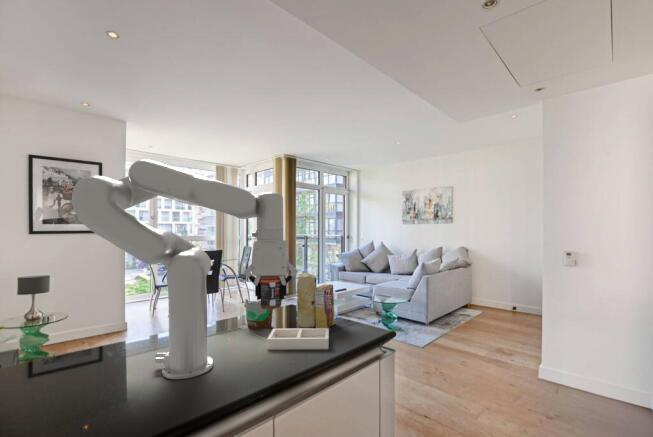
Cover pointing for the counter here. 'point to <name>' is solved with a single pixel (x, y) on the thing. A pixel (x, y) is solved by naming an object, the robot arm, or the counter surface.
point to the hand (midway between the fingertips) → (271, 298)
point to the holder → (298, 338)
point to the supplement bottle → (270, 292)
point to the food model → (306, 300)
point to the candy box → (324, 306)
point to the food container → (257, 315)
